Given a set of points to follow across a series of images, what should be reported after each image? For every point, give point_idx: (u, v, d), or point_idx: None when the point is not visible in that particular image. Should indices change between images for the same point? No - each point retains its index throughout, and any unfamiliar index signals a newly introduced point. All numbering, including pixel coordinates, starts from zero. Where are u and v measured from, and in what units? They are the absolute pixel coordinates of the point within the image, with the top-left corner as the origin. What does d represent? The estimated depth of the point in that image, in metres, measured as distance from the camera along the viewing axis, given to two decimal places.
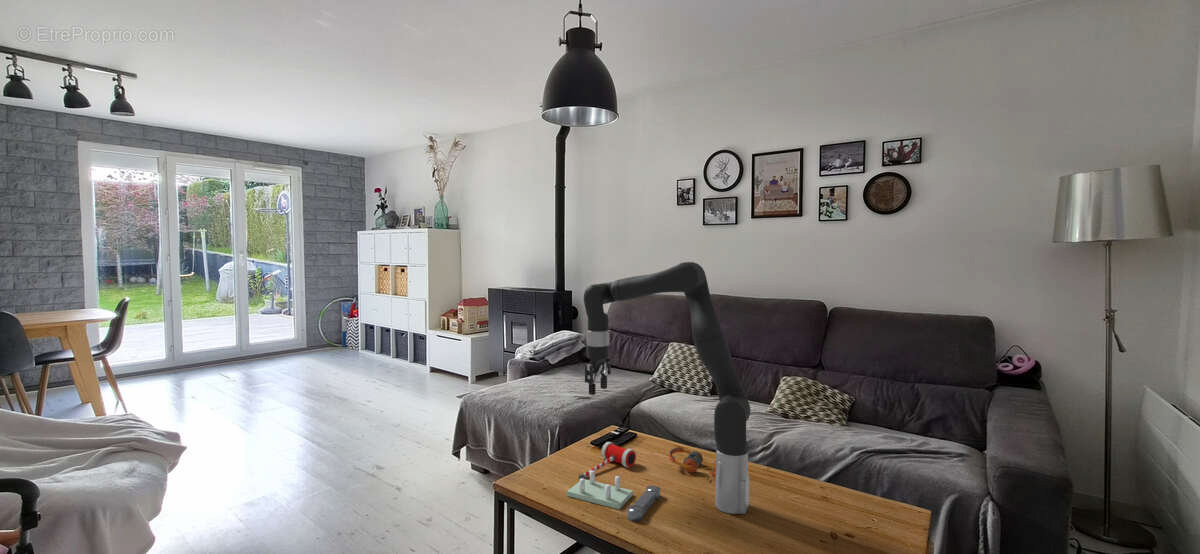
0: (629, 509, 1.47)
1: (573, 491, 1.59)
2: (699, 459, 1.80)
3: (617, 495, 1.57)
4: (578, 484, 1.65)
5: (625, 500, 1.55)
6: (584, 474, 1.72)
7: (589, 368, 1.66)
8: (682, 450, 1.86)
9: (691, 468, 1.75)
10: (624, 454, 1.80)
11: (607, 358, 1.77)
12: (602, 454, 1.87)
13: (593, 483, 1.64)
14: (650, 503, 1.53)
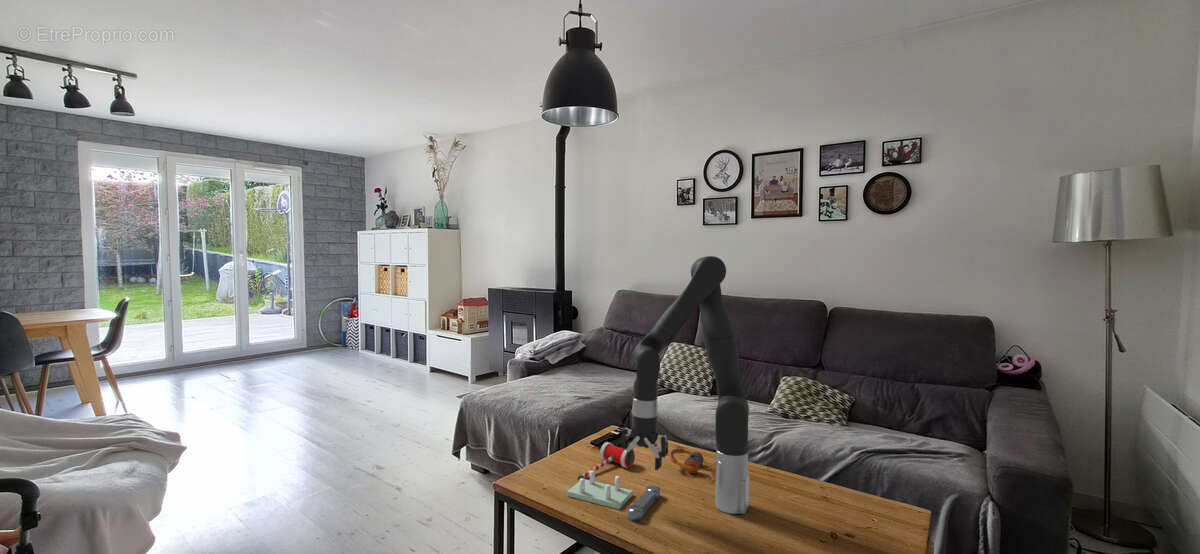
0: (629, 509, 1.47)
1: (573, 491, 1.59)
2: (700, 460, 1.80)
3: (617, 495, 1.57)
4: (578, 484, 1.65)
5: (625, 500, 1.55)
6: (583, 475, 1.72)
7: (666, 439, 1.50)
8: (683, 451, 1.86)
9: (692, 469, 1.74)
10: (623, 454, 1.80)
11: (627, 428, 1.56)
12: (601, 454, 1.86)
13: (593, 483, 1.64)
14: (650, 503, 1.53)
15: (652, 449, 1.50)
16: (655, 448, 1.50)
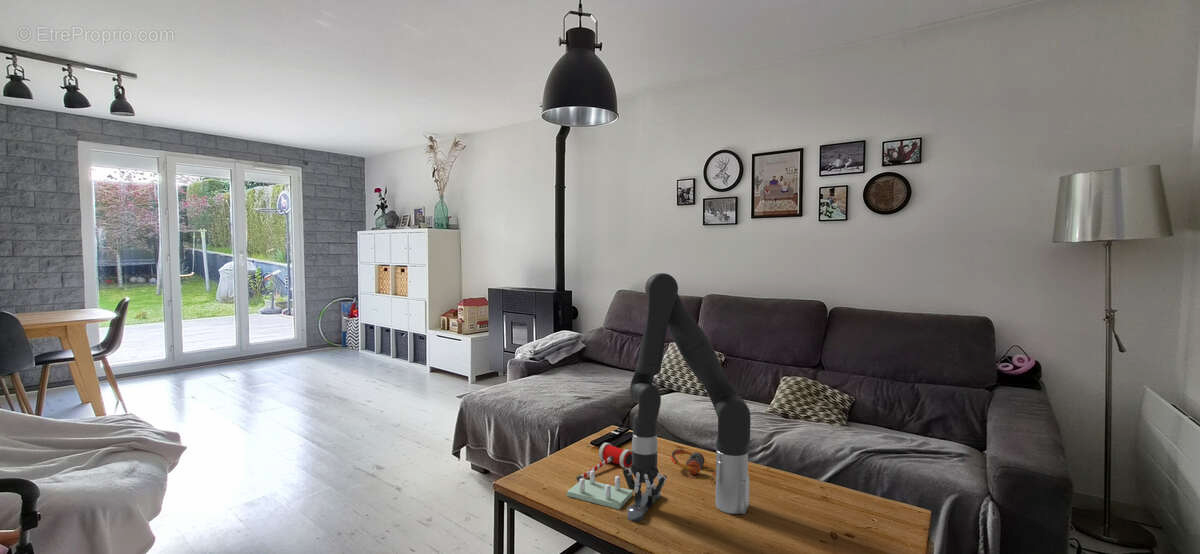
0: (629, 509, 1.47)
1: (573, 491, 1.59)
2: (701, 460, 1.79)
3: (617, 495, 1.57)
4: (578, 484, 1.65)
5: (625, 500, 1.55)
6: (582, 475, 1.71)
7: (664, 480, 1.50)
8: (683, 452, 1.85)
9: (694, 470, 1.74)
10: (622, 455, 1.80)
11: (627, 468, 1.56)
12: (599, 455, 1.86)
13: (593, 483, 1.64)
14: None
15: (648, 486, 1.51)
16: (651, 486, 1.51)
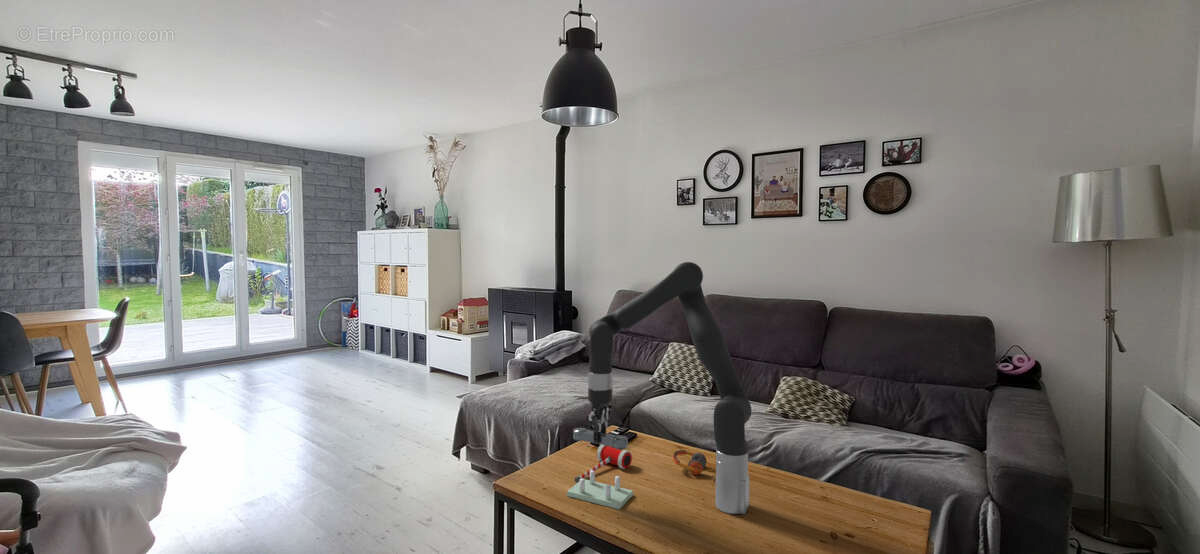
0: (621, 440, 1.54)
1: (573, 491, 1.59)
2: (703, 461, 1.79)
3: (617, 495, 1.57)
4: (578, 484, 1.65)
5: (625, 500, 1.55)
6: (580, 476, 1.70)
7: None
8: (685, 452, 1.84)
9: (696, 470, 1.73)
10: (620, 456, 1.79)
11: (589, 414, 1.54)
12: (598, 456, 1.85)
13: (593, 483, 1.64)
14: None
15: (607, 418, 1.60)
16: None
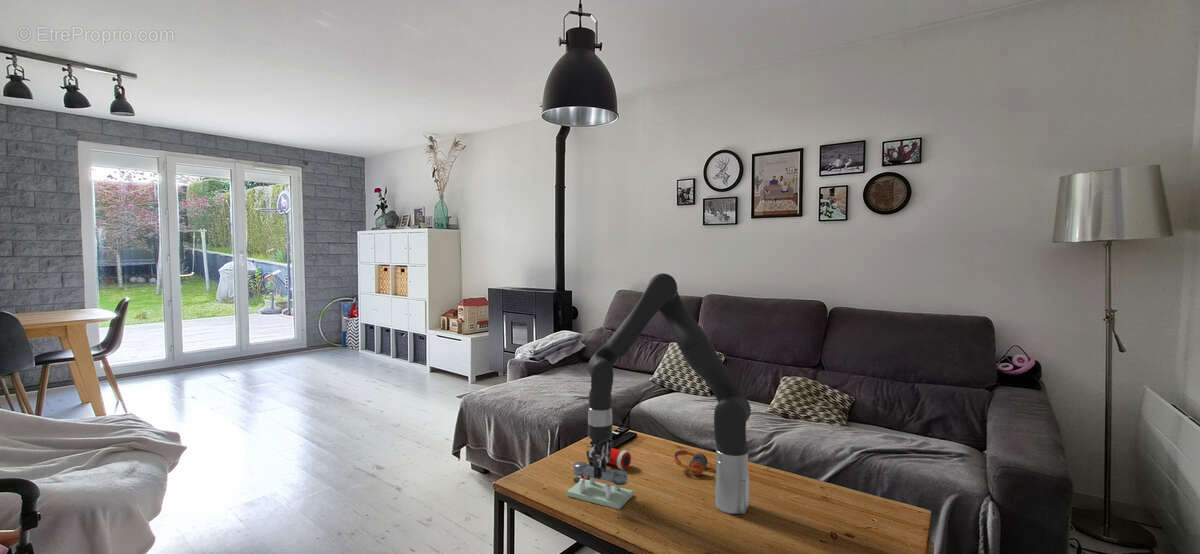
0: (621, 475, 1.55)
1: (573, 491, 1.59)
2: (704, 461, 1.79)
3: (617, 495, 1.57)
4: (578, 484, 1.65)
5: (625, 500, 1.55)
6: (579, 477, 1.70)
7: None
8: (686, 452, 1.84)
9: (697, 471, 1.73)
10: (619, 456, 1.79)
11: None
12: None
13: (593, 483, 1.64)
14: None
15: (607, 453, 1.61)
16: None
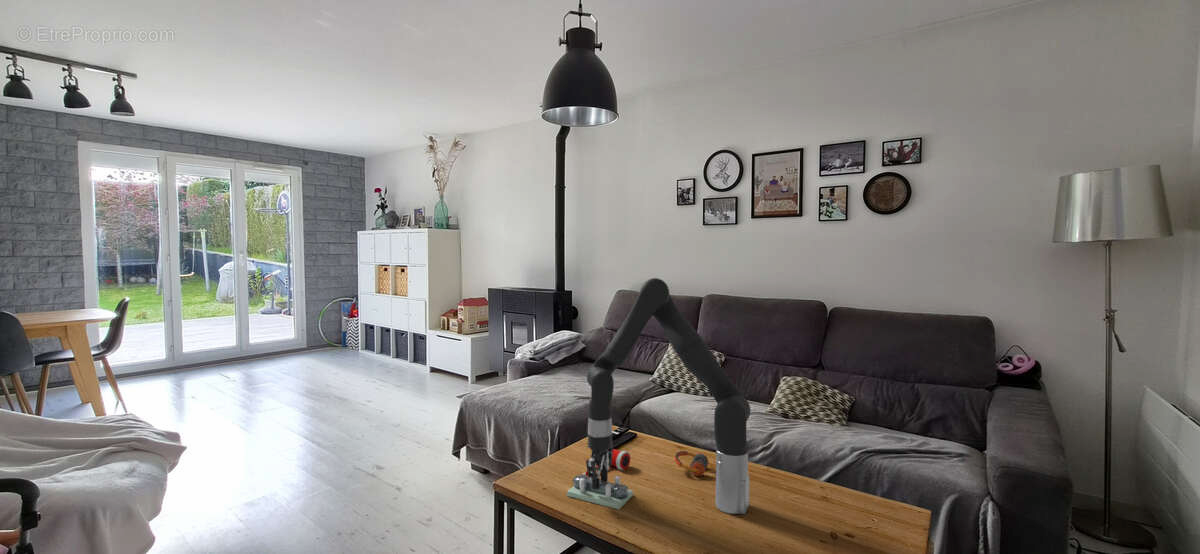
0: (621, 490, 1.55)
1: (573, 491, 1.59)
2: (705, 462, 1.78)
3: None
4: None
5: (625, 500, 1.55)
6: None
7: None
8: (686, 453, 1.83)
9: (699, 471, 1.72)
10: (618, 456, 1.78)
11: None
12: None
13: None
14: None
15: (608, 462, 1.61)
16: None
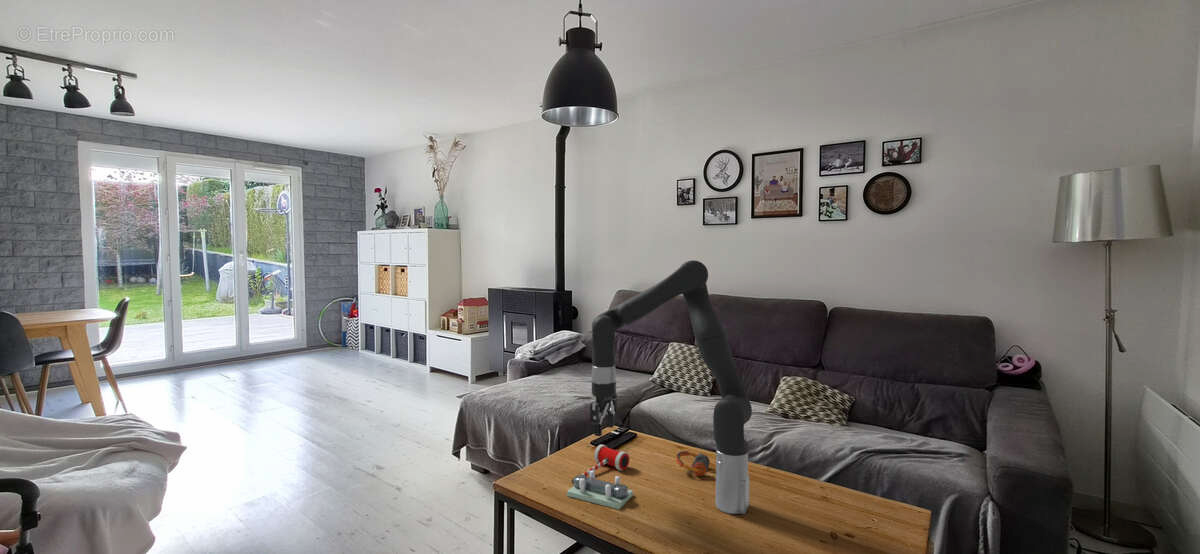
0: (621, 490, 1.55)
1: (573, 491, 1.59)
2: (706, 462, 1.78)
3: None
4: None
5: (625, 500, 1.55)
6: None
7: None
8: (688, 453, 1.83)
9: (700, 471, 1.72)
10: (617, 457, 1.78)
11: None
12: (595, 457, 1.84)
13: None
14: None
15: (613, 408, 1.61)
16: None
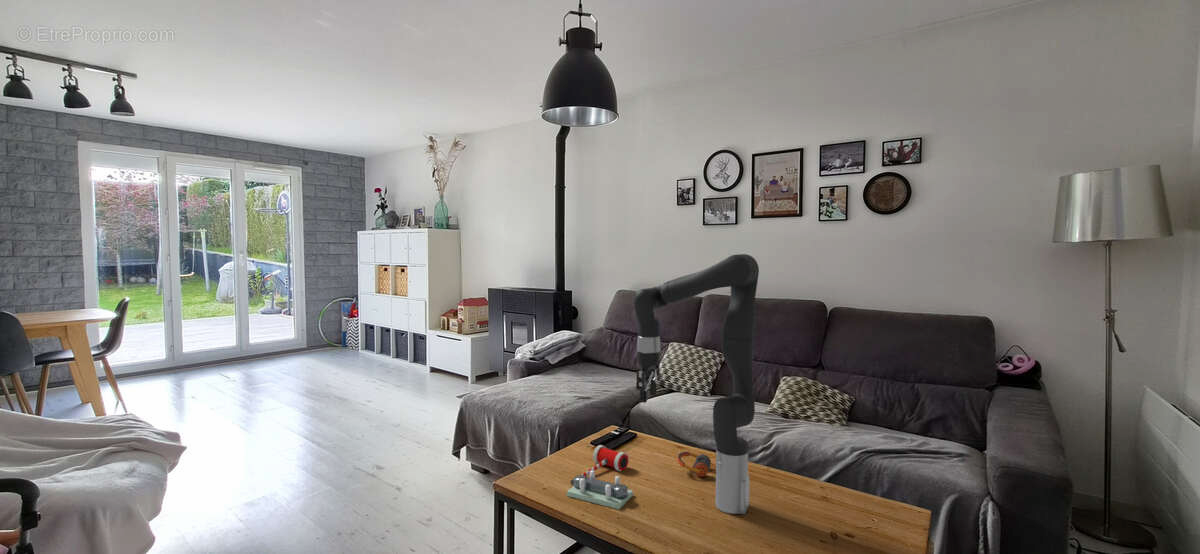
0: (621, 490, 1.55)
1: (573, 491, 1.59)
2: (708, 462, 1.77)
3: None
4: None
5: (625, 500, 1.55)
6: None
7: None
8: (689, 454, 1.83)
9: (702, 472, 1.72)
10: (616, 458, 1.77)
11: None
12: (594, 458, 1.83)
13: None
14: None
15: (657, 378, 1.69)
16: None
